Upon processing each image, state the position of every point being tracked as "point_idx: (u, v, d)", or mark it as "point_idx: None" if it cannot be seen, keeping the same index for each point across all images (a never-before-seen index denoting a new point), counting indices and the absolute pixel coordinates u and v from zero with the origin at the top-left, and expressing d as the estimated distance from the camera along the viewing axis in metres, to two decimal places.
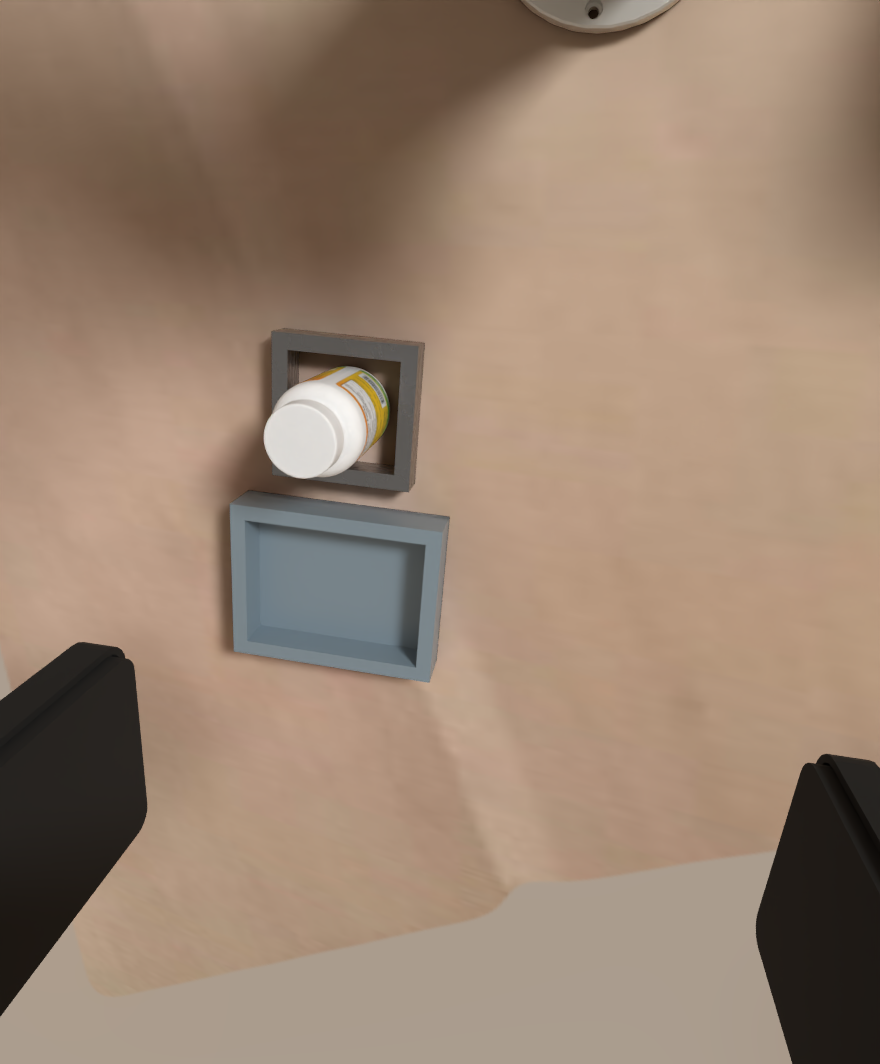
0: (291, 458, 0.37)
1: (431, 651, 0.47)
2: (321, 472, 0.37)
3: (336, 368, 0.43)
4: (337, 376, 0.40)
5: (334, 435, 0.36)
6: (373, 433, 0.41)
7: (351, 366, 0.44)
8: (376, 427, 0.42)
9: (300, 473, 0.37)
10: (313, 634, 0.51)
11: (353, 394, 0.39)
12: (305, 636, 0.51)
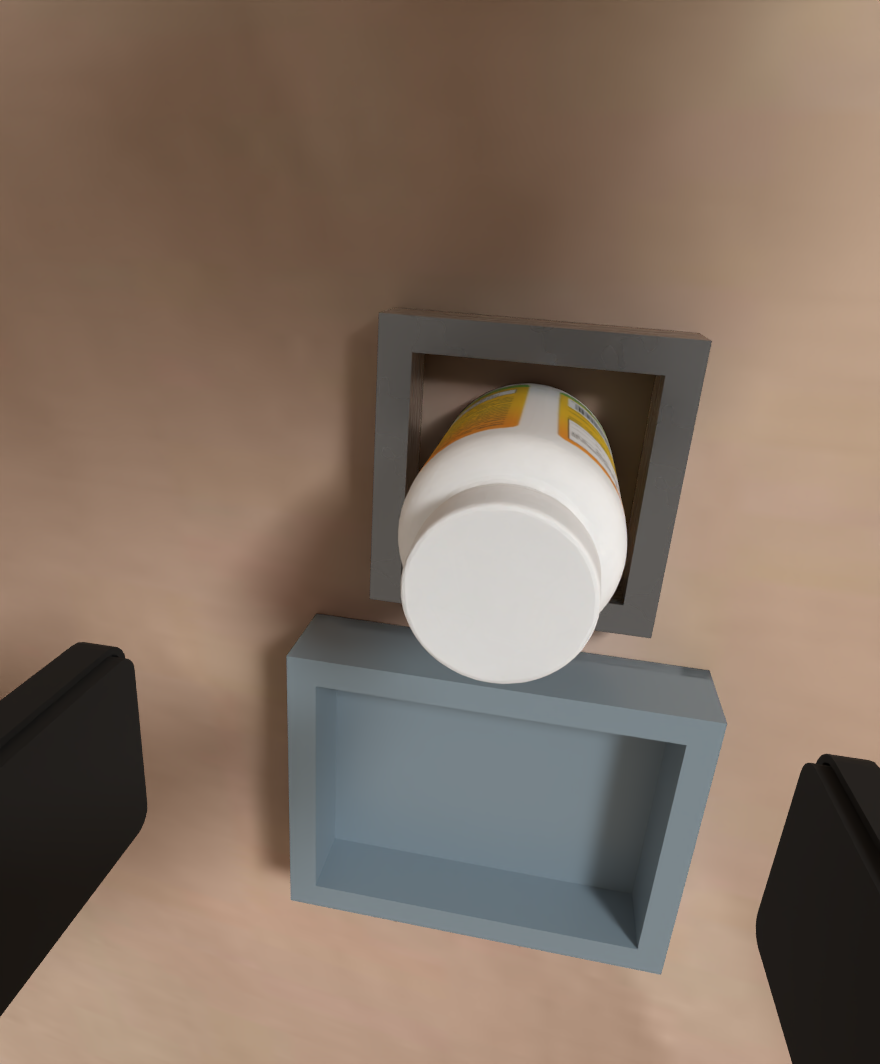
0: (473, 636, 0.14)
1: (671, 925, 0.25)
2: (549, 672, 0.14)
3: (513, 390, 0.20)
4: (542, 413, 0.18)
5: (597, 584, 0.13)
6: None
7: (537, 384, 0.21)
8: None
9: (493, 672, 0.15)
10: (430, 859, 0.28)
11: (597, 459, 0.16)
12: (417, 866, 0.28)
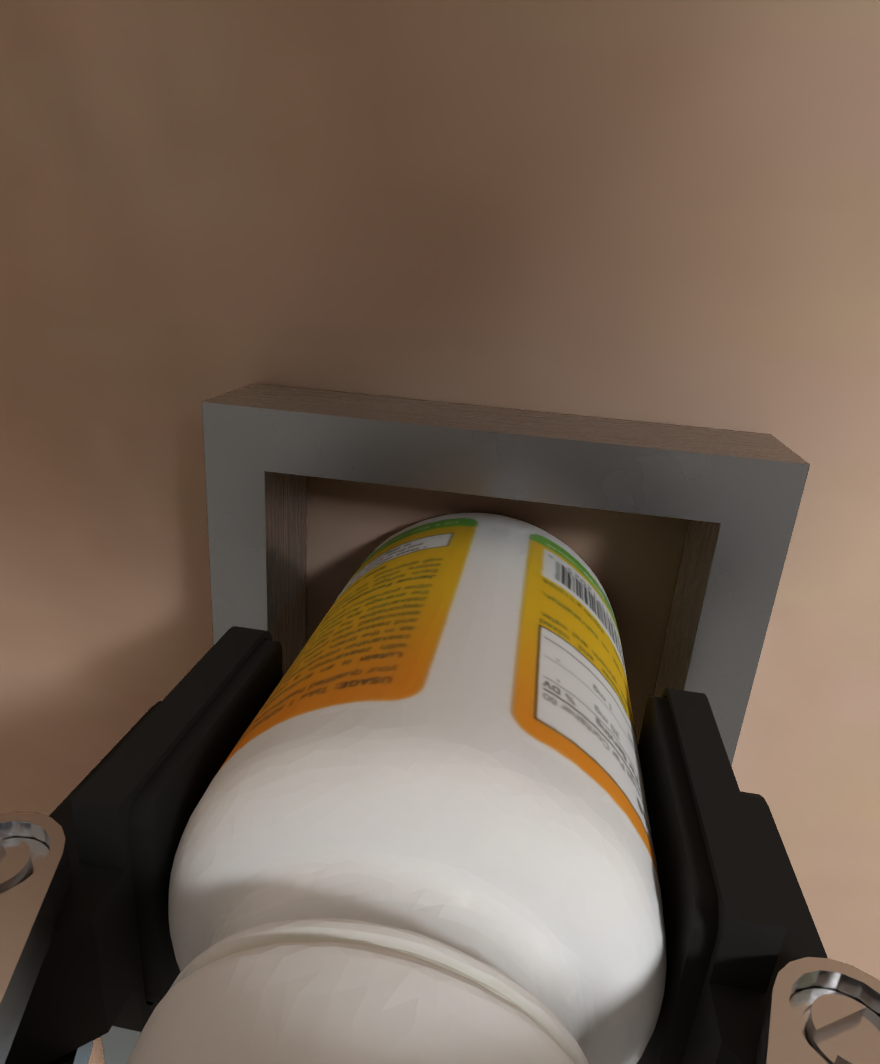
0: None
1: None
2: None
3: (447, 535, 0.12)
4: (487, 622, 0.09)
5: None
6: None
7: (492, 516, 0.12)
8: None
9: None
10: None
11: (598, 757, 0.07)
12: None
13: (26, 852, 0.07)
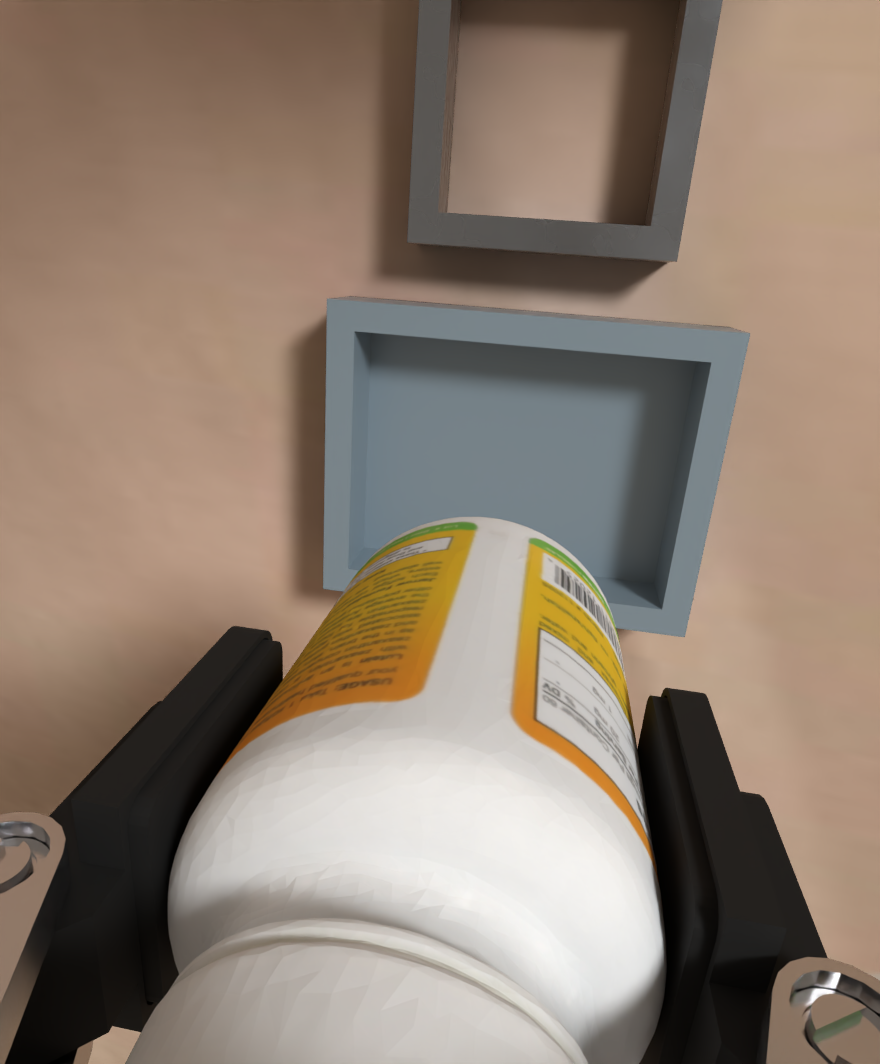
0: None
1: (695, 577, 0.26)
2: None
3: (447, 539, 0.12)
4: (486, 624, 0.09)
5: None
6: None
7: (492, 520, 0.13)
8: None
9: None
10: None
11: (598, 758, 0.07)
12: None
13: (26, 852, 0.07)
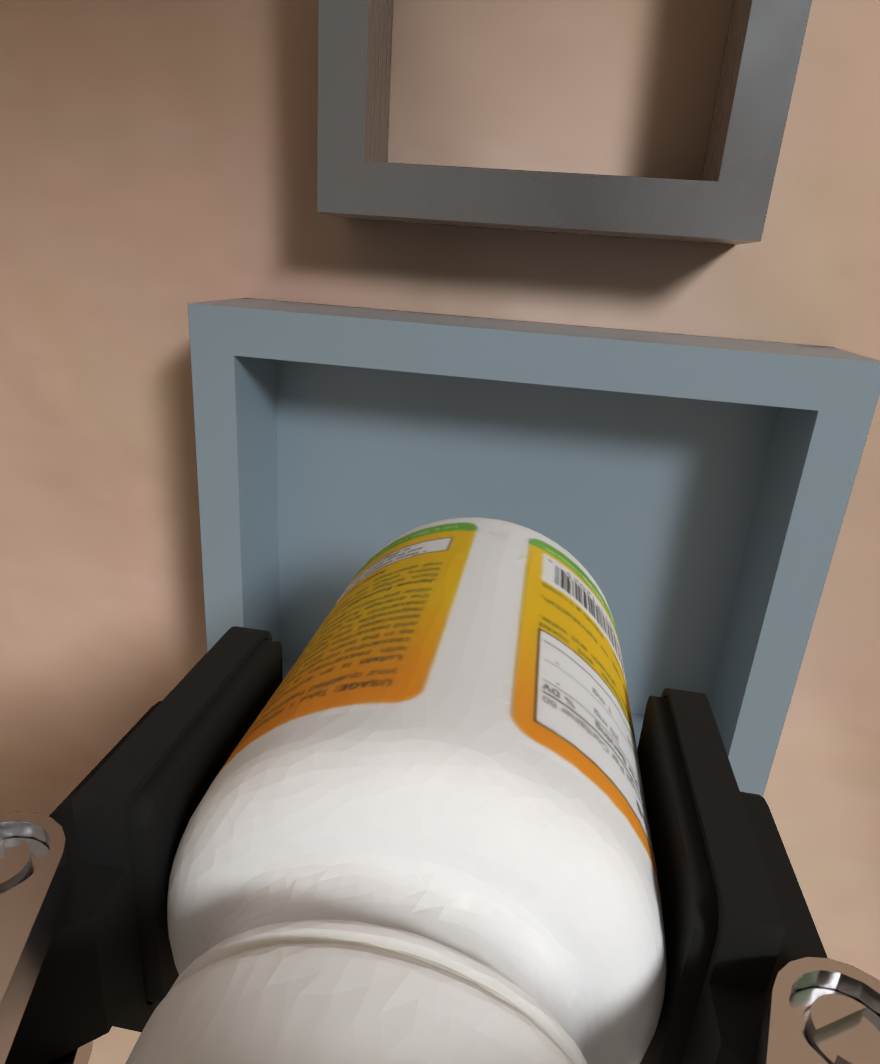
0: None
1: (775, 739, 0.16)
2: None
3: (447, 539, 0.12)
4: (486, 625, 0.09)
5: None
6: None
7: (492, 521, 0.13)
8: None
9: None
10: None
11: (598, 760, 0.07)
12: None
13: (27, 852, 0.07)
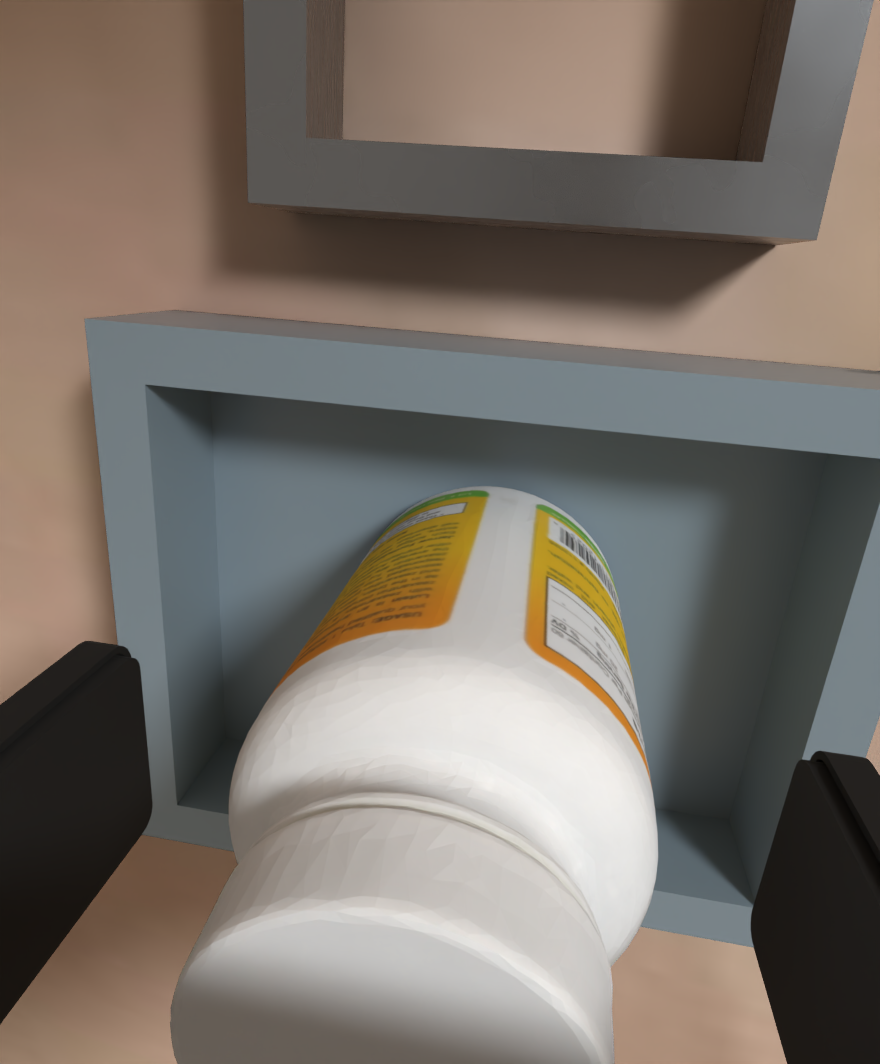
0: None
1: None
2: None
3: (462, 504, 0.13)
4: (501, 572, 0.10)
5: None
6: None
7: (502, 489, 0.14)
8: None
9: None
10: None
11: (599, 679, 0.09)
12: None
13: None
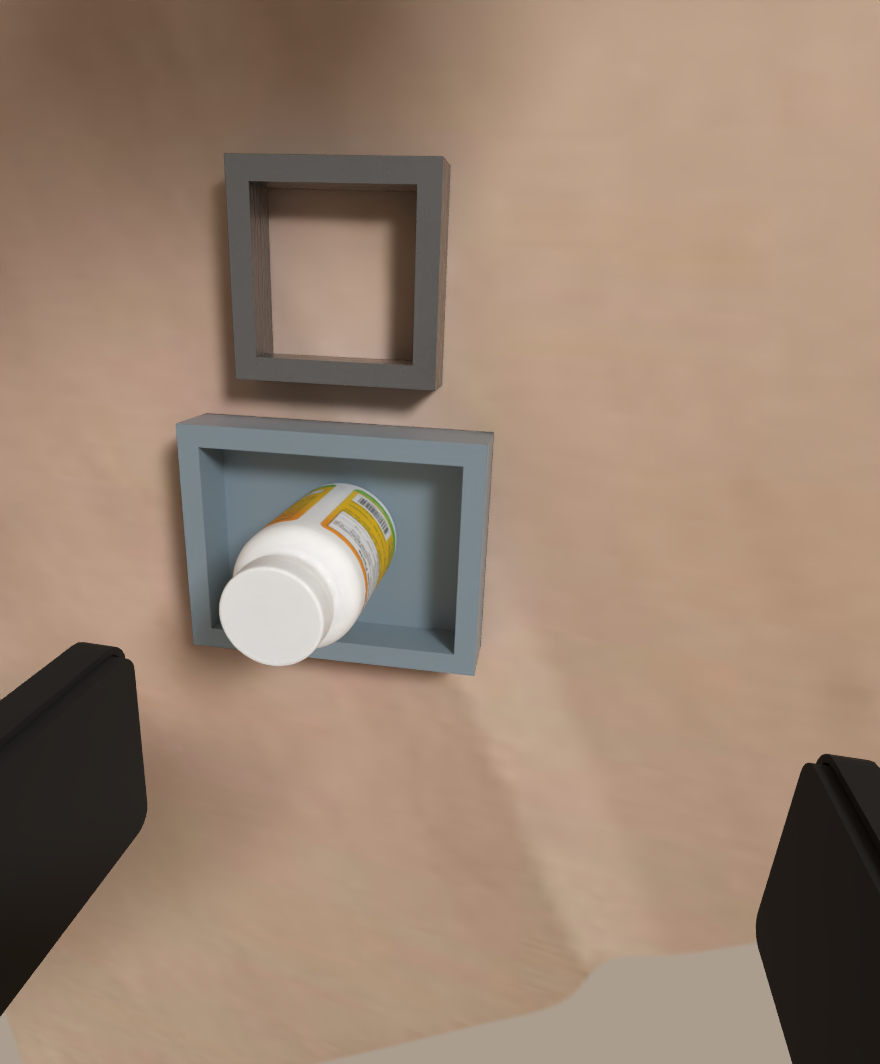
0: (260, 639, 0.26)
1: (476, 629, 0.33)
2: (303, 658, 0.26)
3: (323, 489, 0.32)
4: (323, 508, 0.30)
5: (319, 608, 0.25)
6: (375, 581, 0.30)
7: (343, 483, 0.33)
8: (379, 571, 0.31)
9: (273, 659, 0.26)
10: None
11: (345, 536, 0.28)
12: None
13: None
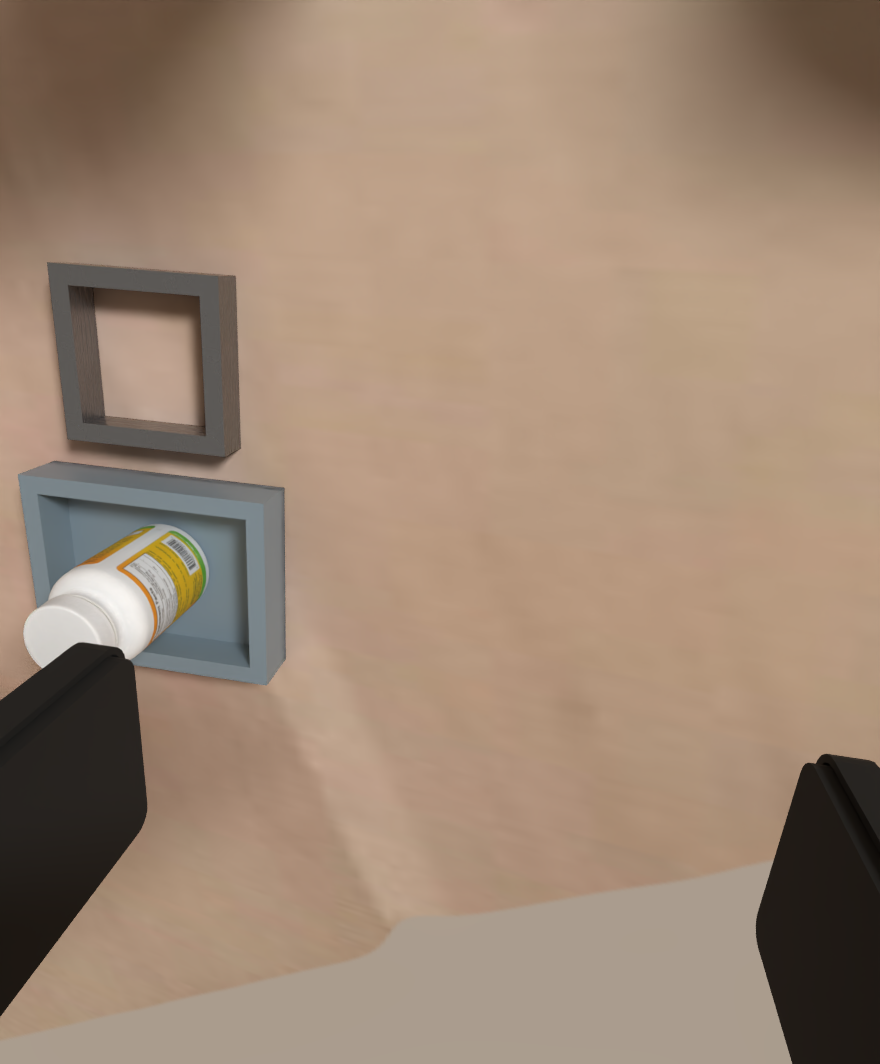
0: None
1: (265, 648, 0.40)
2: None
3: (141, 530, 0.40)
4: (128, 551, 0.37)
5: (98, 638, 0.32)
6: (171, 610, 0.37)
7: (162, 525, 0.40)
8: (177, 601, 0.38)
9: None
10: None
11: (138, 577, 0.35)
12: None
13: None
